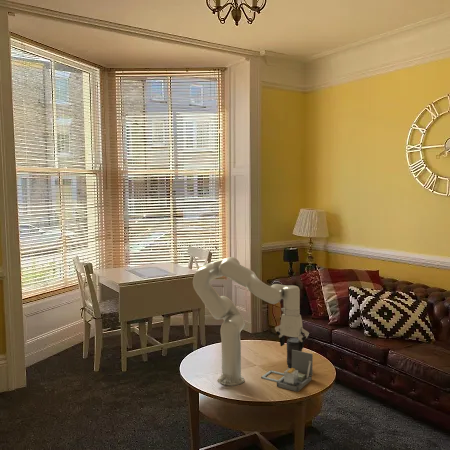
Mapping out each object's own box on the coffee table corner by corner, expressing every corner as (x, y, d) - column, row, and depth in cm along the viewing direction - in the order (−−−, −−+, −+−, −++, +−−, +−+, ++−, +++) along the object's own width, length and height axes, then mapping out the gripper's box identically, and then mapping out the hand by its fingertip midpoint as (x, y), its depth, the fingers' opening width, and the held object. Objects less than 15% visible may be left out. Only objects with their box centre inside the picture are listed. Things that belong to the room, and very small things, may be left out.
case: (297, 393, 226) (298, 365, 225) (276, 387, 232) (276, 360, 231) (312, 380, 240) (312, 353, 239) (292, 375, 246) (292, 349, 245)
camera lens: (302, 365, 259) (303, 338, 258) (301, 371, 251) (301, 343, 250) (287, 363, 261) (287, 336, 260) (285, 369, 253) (285, 341, 252)
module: (293, 389, 229) (293, 372, 228) (283, 386, 232) (284, 370, 231) (297, 385, 233) (298, 369, 232) (288, 382, 236) (288, 366, 235)
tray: (279, 383, 236) (279, 381, 236) (261, 379, 242) (261, 376, 242) (288, 376, 244) (288, 374, 244) (270, 372, 250) (270, 370, 250)
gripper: (271, 311, 230) (271, 346, 232) (305, 316, 221) (305, 352, 223) (278, 307, 237) (278, 341, 238) (311, 312, 227) (311, 348, 229)
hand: (291, 347), depth 230 cm, fingers open, 9 cm apart
